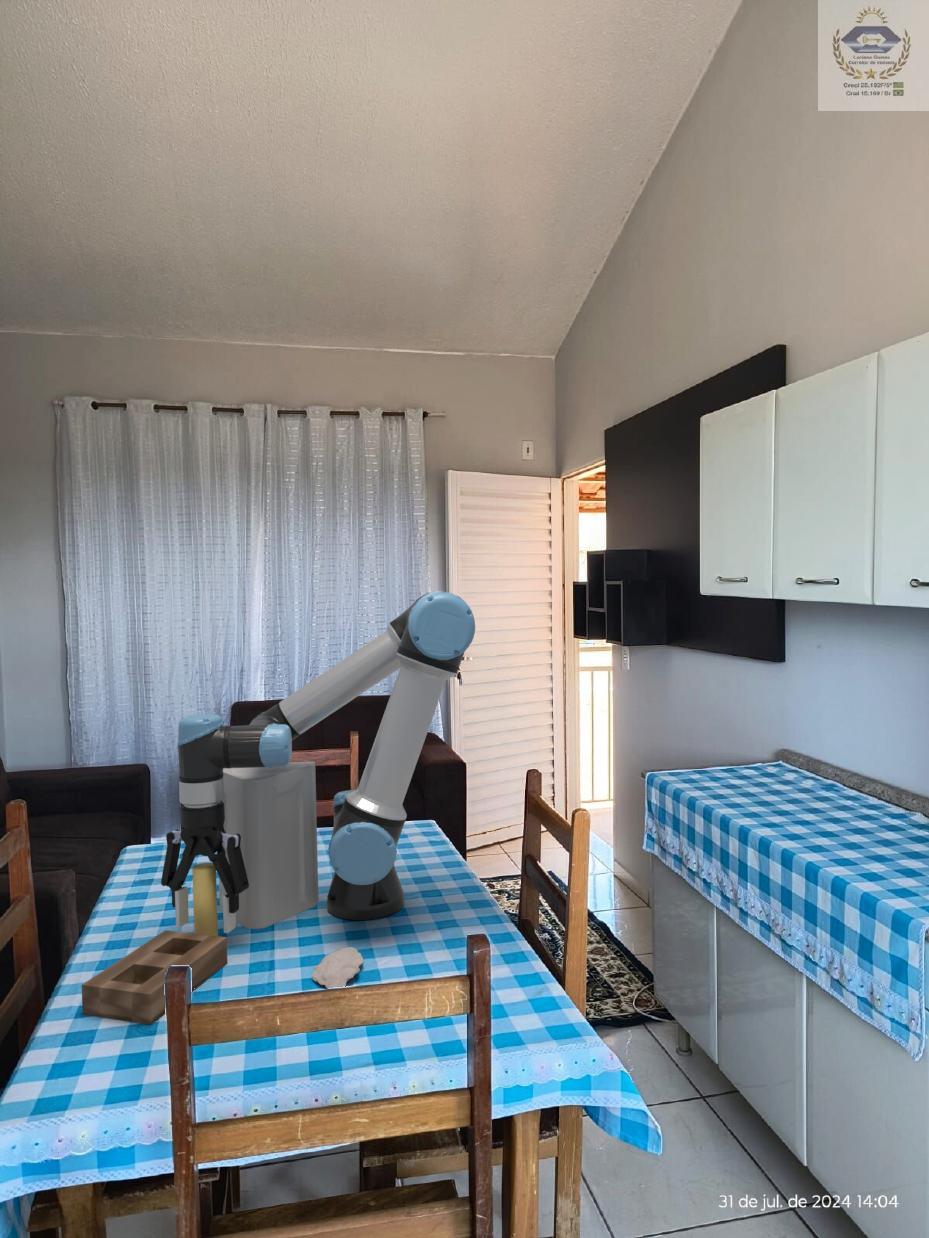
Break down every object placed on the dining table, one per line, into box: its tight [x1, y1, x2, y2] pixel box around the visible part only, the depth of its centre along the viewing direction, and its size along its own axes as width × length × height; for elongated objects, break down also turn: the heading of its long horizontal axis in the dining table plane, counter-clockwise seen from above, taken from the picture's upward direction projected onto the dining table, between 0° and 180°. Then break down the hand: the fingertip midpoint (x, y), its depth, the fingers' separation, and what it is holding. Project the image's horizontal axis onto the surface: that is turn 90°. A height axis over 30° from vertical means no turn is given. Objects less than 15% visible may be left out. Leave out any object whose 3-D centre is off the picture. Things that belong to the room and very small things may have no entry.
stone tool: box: [311, 946, 364, 989], centre depth 133 cm, size 8×3×15 cm
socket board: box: [81, 930, 228, 1026], centre depth 130 cm, size 12×20×4 cm, turn 164°
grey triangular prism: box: [218, 761, 319, 930], centre depth 159 cm, size 19×15×28 cm
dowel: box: [191, 862, 219, 936], centre depth 146 cm, size 4×4×14 cm
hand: (206, 927), depth 146 cm, fingers open, 9 cm apart
